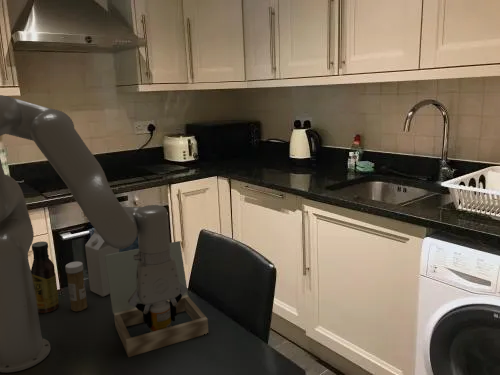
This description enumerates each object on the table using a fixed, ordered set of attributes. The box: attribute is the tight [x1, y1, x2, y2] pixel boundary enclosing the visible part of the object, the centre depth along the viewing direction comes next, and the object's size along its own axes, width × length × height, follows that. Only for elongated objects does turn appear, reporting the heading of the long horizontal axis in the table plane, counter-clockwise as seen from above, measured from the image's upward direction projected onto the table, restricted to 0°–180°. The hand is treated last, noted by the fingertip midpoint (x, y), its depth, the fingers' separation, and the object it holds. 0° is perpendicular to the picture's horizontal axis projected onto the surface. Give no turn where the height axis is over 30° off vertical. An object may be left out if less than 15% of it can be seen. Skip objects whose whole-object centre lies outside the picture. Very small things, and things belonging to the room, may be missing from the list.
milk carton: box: [84, 229, 120, 297], centre depth 134 cm, size 7×7×19 cm
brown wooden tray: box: [113, 294, 209, 358], centre depth 112 cm, size 20×15×4 cm
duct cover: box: [104, 240, 189, 315], centre depth 118 cm, size 20×15×1 cm
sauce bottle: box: [30, 241, 59, 314], centre depth 123 cm, size 7×6×20 cm
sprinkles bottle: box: [65, 261, 88, 312], centre depth 124 cm, size 5×5×13 cm
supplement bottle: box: [149, 300, 173, 332], centre depth 111 cm, size 5×5×10 cm
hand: (160, 321), depth 112 cm, fingers closed on supplement bottle, 5 cm apart
